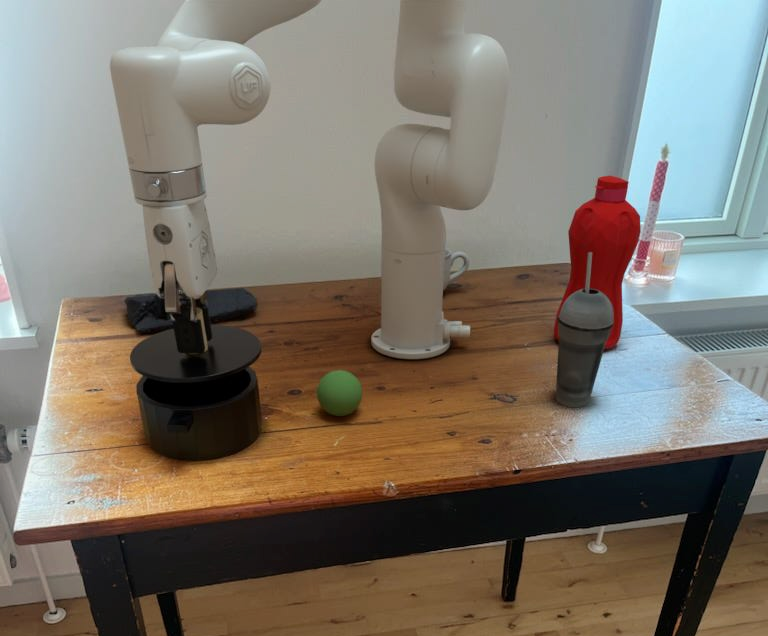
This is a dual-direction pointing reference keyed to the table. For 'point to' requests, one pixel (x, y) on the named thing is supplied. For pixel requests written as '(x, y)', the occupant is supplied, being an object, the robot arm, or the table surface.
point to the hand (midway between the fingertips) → (195, 344)
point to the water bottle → (603, 246)
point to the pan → (201, 416)
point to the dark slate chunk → (153, 307)
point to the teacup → (449, 262)
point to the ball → (339, 393)
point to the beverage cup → (581, 342)
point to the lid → (196, 355)
